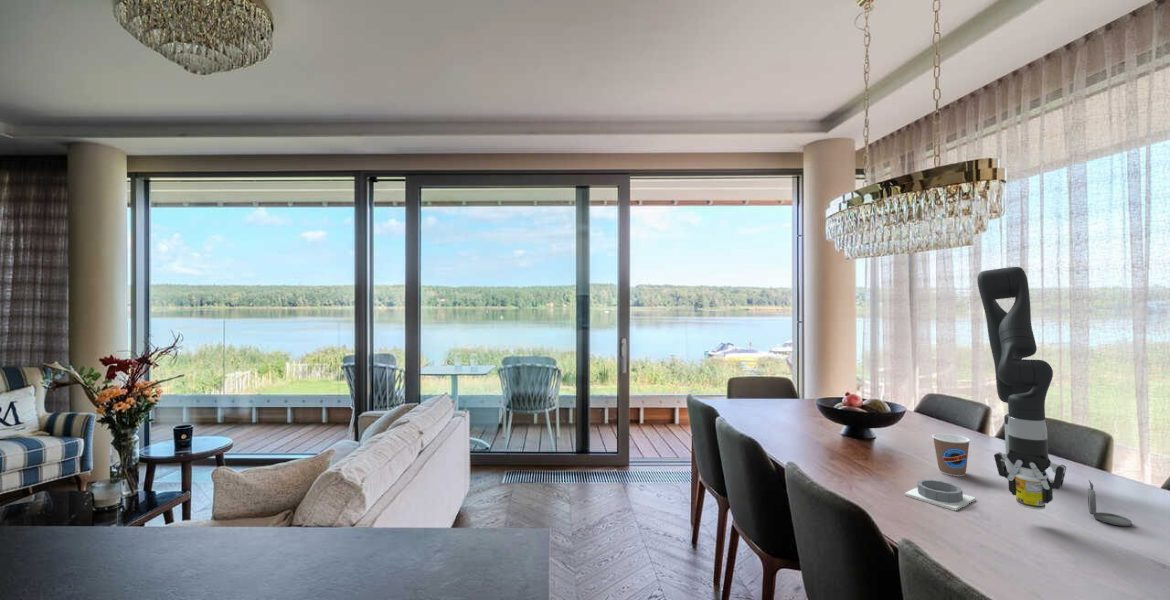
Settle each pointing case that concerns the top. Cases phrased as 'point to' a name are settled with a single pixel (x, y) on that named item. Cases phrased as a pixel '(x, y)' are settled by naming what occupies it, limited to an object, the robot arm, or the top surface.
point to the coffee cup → (951, 453)
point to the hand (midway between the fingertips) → (1030, 498)
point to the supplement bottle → (1029, 489)
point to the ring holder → (940, 494)
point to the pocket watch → (1104, 516)
